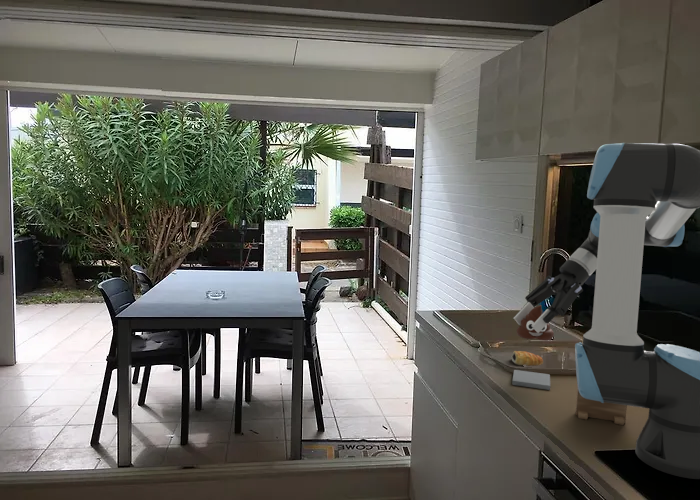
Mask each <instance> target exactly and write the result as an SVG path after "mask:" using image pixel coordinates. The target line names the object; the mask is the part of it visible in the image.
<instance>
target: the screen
mask: <svg viewBox="0 0 700 500" xmlns="http://www.w3.org/2000/svg"><path fill="white" fill-rule="evenodd" d="M576 392H577V393H576V403H575V416H577V418H578V419H583V420H588V418H592V419H593V418H594V419H600V420H606V421H613V423H614V424H615V425H621V426H624V425H625V423H626V418H627V408H628V405H621V404H613V403H606V402H604V403H601V402H600V401H595V400H590V399H585V398H583V397H582V396H581V395H580V393H579V391H578V388H577V391H576Z"/></svg>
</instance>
